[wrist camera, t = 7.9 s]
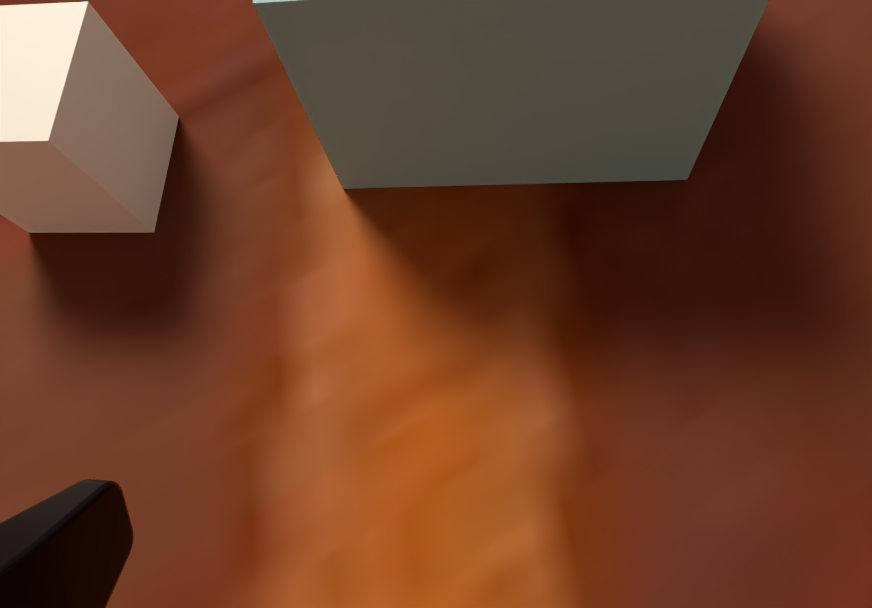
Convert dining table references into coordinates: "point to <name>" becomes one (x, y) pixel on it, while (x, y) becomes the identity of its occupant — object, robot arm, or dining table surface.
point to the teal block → (510, 85)
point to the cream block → (77, 125)
